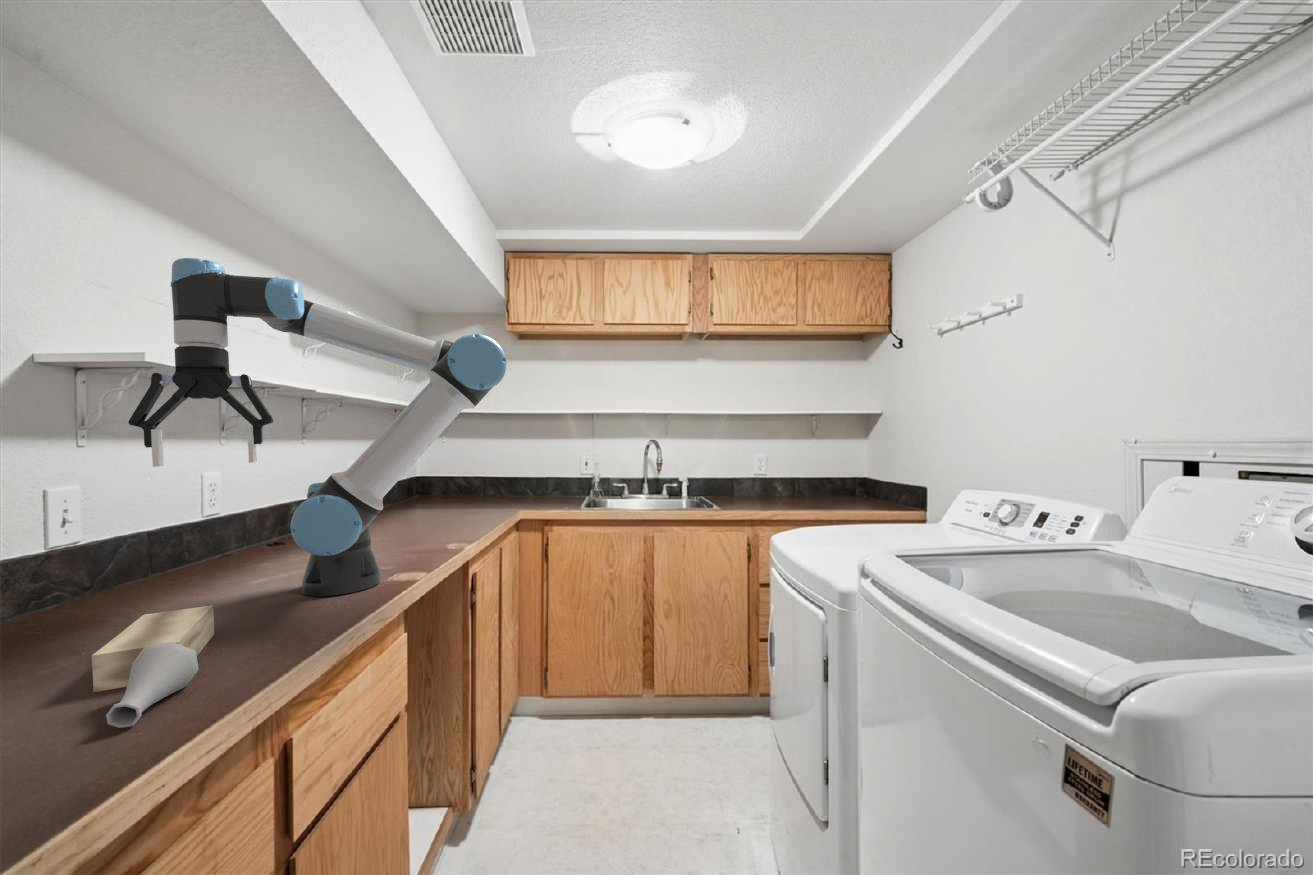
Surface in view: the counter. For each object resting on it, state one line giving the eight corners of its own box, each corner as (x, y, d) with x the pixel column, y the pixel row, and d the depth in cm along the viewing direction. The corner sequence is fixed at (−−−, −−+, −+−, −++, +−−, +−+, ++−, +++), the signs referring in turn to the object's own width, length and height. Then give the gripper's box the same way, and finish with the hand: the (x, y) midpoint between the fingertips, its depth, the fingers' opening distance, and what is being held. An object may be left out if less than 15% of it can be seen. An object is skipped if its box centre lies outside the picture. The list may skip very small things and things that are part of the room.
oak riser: (214, 634, 93) (213, 605, 93) (180, 676, 77) (178, 641, 77) (144, 645, 89) (143, 614, 88) (93, 692, 73) (91, 655, 72)
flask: (206, 644, 74) (168, 692, 64) (193, 692, 74) (153, 745, 65) (140, 636, 71) (90, 685, 62) (127, 686, 72) (76, 741, 62)
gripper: (287, 352, 107) (291, 459, 108) (118, 347, 96) (124, 466, 97) (281, 347, 101) (285, 461, 101) (99, 341, 89) (105, 469, 90)
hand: (207, 464), depth 99 cm, fingers open, 13 cm apart
